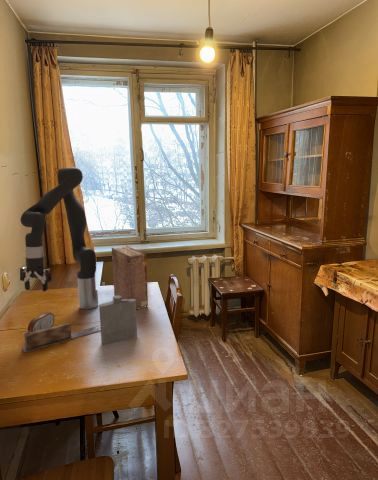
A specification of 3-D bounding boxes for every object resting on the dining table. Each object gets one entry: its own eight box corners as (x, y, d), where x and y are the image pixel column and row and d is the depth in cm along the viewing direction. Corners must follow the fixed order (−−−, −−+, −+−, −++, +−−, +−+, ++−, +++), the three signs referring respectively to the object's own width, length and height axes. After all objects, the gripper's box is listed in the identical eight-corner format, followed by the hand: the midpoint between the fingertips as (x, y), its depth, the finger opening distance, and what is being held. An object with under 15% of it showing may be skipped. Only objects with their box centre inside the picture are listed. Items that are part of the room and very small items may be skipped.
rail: (102, 325, 171) (102, 324, 171) (106, 329, 167) (106, 328, 167) (21, 347, 151) (21, 346, 150) (24, 352, 147) (24, 351, 146)
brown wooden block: (69, 334, 161) (68, 321, 160) (72, 337, 158) (70, 324, 157) (25, 346, 151) (24, 333, 150) (27, 349, 148) (26, 336, 146)
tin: (51, 324, 173) (49, 308, 171) (56, 325, 172) (55, 309, 170) (28, 338, 159) (26, 321, 157) (33, 339, 158) (31, 322, 156)
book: (114, 297, 208) (111, 247, 202) (128, 293, 213) (126, 245, 207) (132, 311, 188) (130, 256, 182) (148, 307, 193) (146, 253, 187)
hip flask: (102, 344, 152) (99, 301, 148) (100, 340, 156) (97, 298, 152) (138, 337, 159) (136, 295, 155) (135, 333, 162) (133, 292, 158)
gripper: (53, 255, 162) (54, 289, 165) (25, 253, 165) (27, 287, 167) (44, 258, 155) (45, 294, 158) (15, 256, 158) (17, 291, 160)
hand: (36, 290), depth 162 cm, fingers open, 8 cm apart
